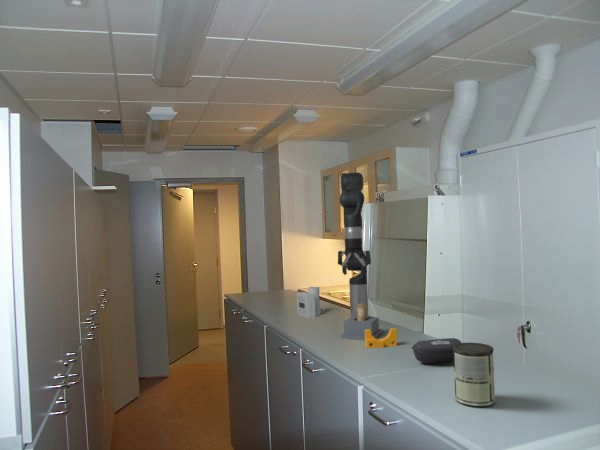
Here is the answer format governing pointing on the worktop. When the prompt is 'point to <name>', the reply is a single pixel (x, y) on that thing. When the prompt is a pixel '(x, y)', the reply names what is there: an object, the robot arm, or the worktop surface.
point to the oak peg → (361, 312)
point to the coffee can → (474, 374)
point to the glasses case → (435, 350)
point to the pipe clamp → (380, 343)
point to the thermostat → (309, 303)
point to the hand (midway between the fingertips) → (354, 274)
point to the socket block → (360, 328)
